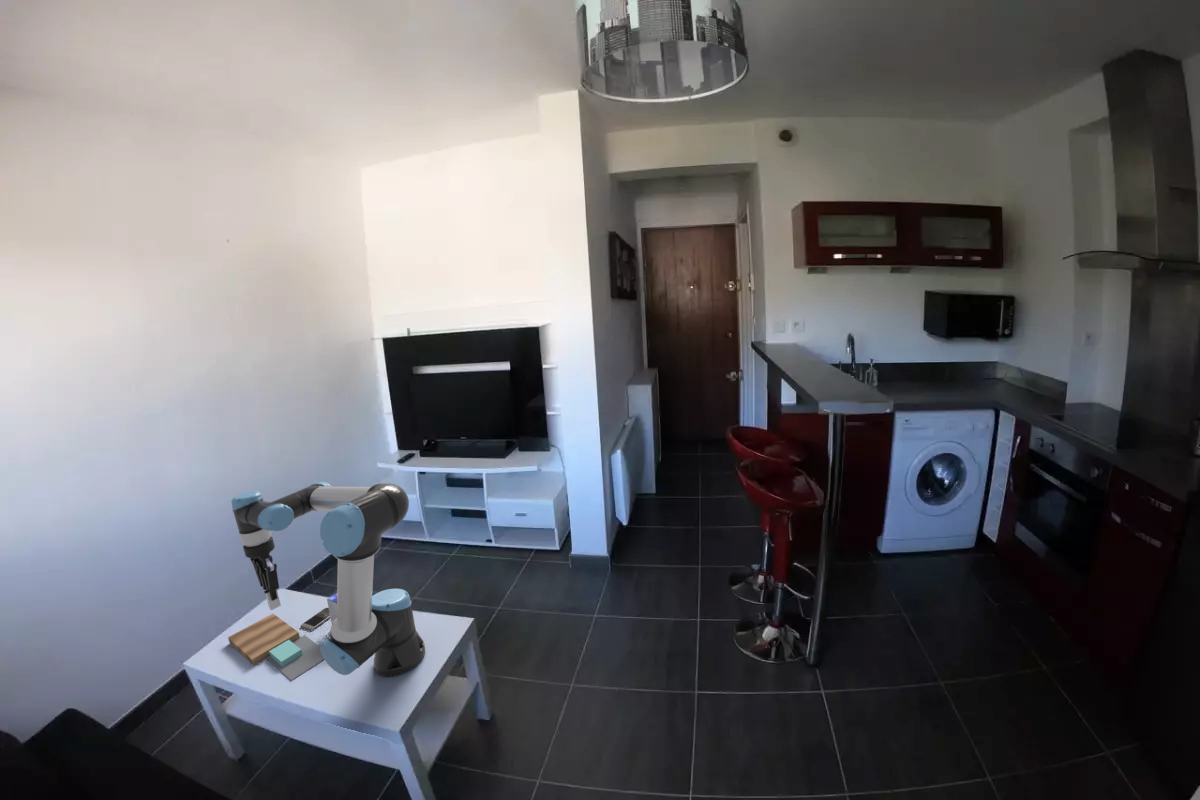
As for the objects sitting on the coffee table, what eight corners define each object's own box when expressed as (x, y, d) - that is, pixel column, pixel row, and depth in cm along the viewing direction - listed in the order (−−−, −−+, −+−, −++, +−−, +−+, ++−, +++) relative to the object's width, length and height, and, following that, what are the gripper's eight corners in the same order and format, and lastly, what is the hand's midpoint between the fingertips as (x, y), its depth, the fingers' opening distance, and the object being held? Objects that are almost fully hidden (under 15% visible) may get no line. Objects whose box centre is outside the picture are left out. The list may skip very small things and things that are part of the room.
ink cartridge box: (364, 626, 166) (356, 591, 162) (349, 637, 161) (341, 600, 158) (346, 619, 170) (338, 584, 167) (332, 629, 166) (323, 593, 162)
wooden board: (300, 638, 162) (298, 632, 161) (253, 666, 151) (252, 659, 150) (274, 619, 173) (273, 613, 172) (229, 643, 162) (227, 637, 161)
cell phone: (339, 613, 175) (338, 609, 175) (311, 633, 165) (310, 629, 165) (327, 609, 177) (327, 606, 177) (299, 629, 167) (298, 625, 167)
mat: (331, 655, 153) (330, 654, 153) (291, 681, 144) (291, 680, 144) (304, 635, 163) (304, 635, 163) (266, 658, 154) (265, 657, 154)
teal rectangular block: (302, 654, 154) (301, 649, 154) (282, 667, 149) (281, 661, 149) (290, 644, 159) (288, 639, 158) (270, 656, 154) (268, 651, 154)
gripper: (280, 539, 143) (297, 606, 148) (262, 530, 150) (279, 594, 156) (252, 551, 137) (271, 621, 142) (234, 541, 144) (253, 607, 150)
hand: (275, 607), depth 149 cm, fingers closed
